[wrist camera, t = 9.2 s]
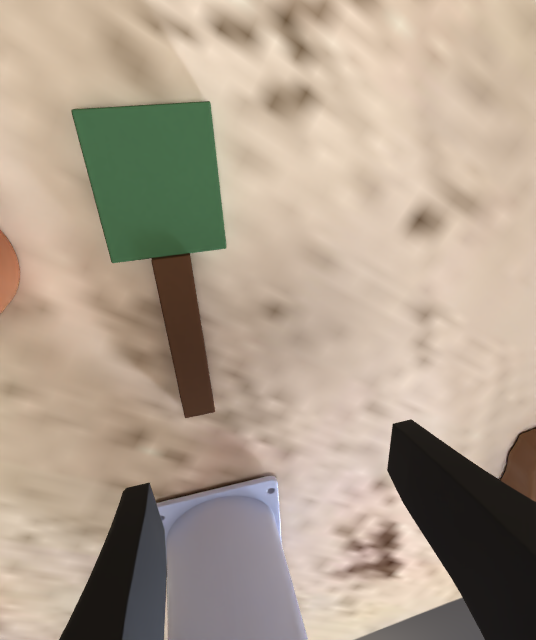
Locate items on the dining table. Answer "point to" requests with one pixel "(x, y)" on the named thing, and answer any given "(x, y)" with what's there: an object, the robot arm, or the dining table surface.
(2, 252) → the pot
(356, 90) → the dining table surface
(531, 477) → the plant
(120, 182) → the spatula
